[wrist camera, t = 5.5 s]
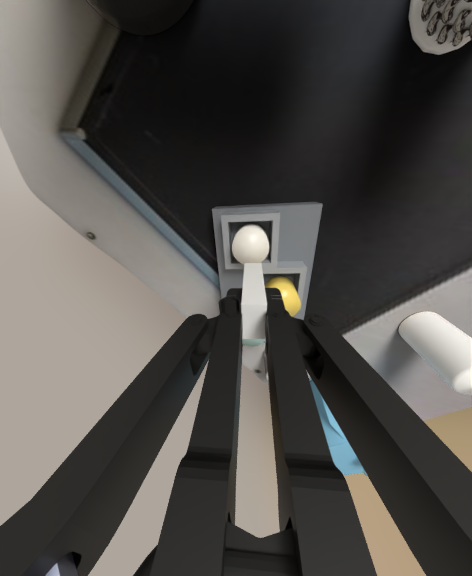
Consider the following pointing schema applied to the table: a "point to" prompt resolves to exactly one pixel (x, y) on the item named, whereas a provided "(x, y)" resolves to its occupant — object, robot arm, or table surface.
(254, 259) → the button ivory
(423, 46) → the decorative candle
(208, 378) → the robot arm
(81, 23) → the table surface
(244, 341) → the button teal
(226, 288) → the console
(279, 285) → the button mustard
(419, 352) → the spray bottle
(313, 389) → the container
